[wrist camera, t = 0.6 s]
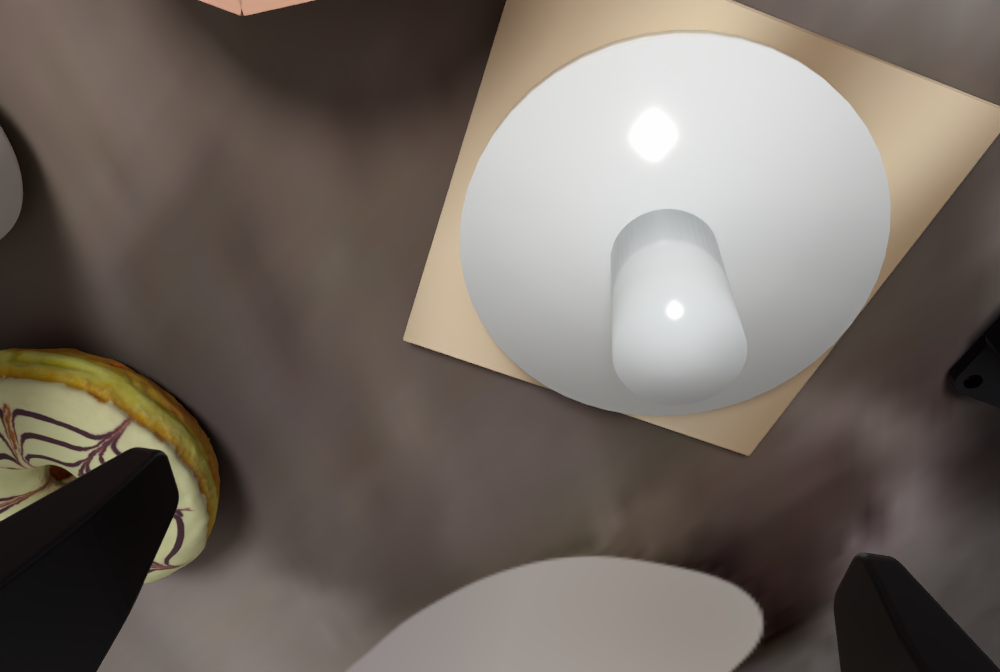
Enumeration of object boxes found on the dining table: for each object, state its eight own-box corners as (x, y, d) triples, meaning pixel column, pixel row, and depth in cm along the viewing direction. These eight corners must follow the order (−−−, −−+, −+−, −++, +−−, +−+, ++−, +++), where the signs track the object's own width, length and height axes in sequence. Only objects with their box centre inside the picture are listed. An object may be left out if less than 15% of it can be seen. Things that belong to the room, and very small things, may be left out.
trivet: (1001, 107, 17) (1013, 114, 16) (746, 443, 24) (748, 455, 23) (531, -80, 16) (529, -77, 15) (407, 329, 23) (402, 339, 22)
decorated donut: (38, 517, 31) (-24, 590, 28) (-77, 317, 25) (-173, 382, 22) (261, 539, 30) (222, 617, 27) (197, 334, 24) (137, 405, 21)
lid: (979, 126, 16) (1110, 220, 12) (743, 441, 23) (775, 575, 18) (542, -44, 16) (520, -7, 11) (422, 332, 22) (378, 447, 18)
